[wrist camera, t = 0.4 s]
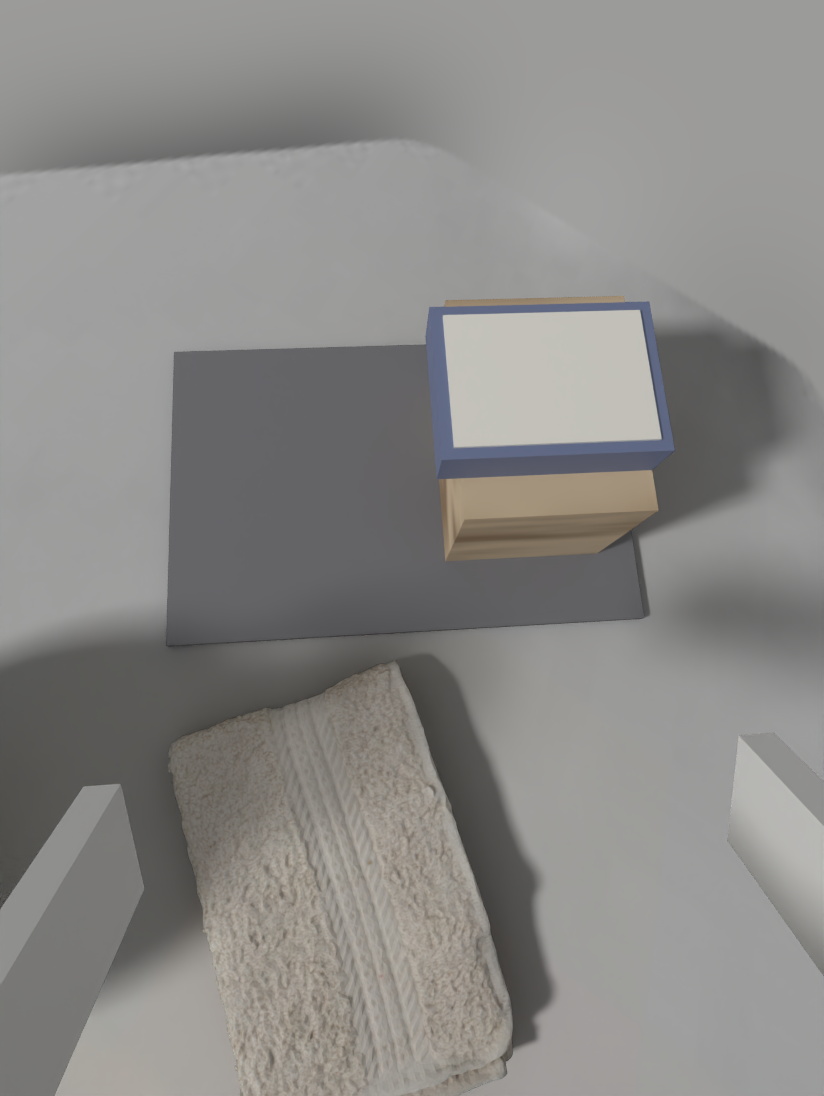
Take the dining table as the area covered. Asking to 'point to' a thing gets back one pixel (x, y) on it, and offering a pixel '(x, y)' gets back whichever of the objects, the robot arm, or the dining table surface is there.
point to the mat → (339, 510)
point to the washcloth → (341, 899)
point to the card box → (545, 390)
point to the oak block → (541, 499)
